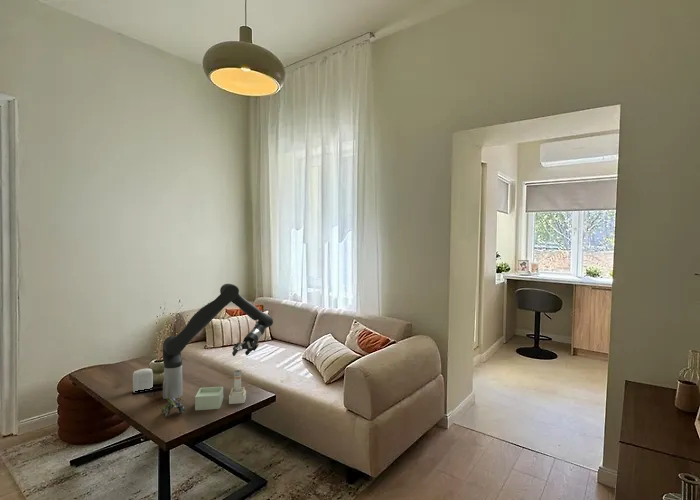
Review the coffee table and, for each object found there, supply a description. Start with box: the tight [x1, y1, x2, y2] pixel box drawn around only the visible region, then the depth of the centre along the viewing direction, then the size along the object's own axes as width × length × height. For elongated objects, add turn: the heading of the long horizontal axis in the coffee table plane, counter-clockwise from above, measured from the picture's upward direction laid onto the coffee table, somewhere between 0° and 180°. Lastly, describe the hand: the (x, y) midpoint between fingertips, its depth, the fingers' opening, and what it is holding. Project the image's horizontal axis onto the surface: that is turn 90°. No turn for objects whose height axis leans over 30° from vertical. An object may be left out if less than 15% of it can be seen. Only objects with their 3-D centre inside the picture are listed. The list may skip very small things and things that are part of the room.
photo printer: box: [132, 368, 154, 393], centre depth 221 cm, size 10×4×12 cm, turn 123°
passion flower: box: [156, 396, 186, 418], centre depth 190 cm, size 11×11×12 cm
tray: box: [194, 386, 224, 411], centre depth 203 cm, size 12×12×7 cm
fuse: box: [233, 369, 242, 392], centre depth 208 cm, size 4×4×12 cm
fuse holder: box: [228, 386, 247, 405], centre depth 208 cm, size 8×8×6 cm
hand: (239, 354), depth 215 cm, fingers open, 8 cm apart
